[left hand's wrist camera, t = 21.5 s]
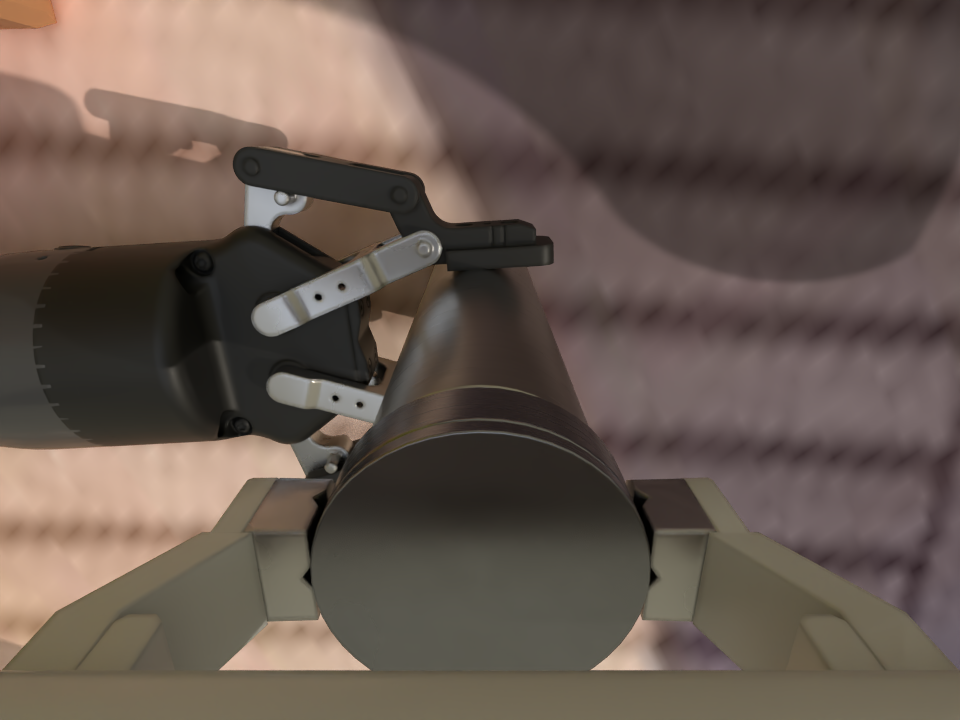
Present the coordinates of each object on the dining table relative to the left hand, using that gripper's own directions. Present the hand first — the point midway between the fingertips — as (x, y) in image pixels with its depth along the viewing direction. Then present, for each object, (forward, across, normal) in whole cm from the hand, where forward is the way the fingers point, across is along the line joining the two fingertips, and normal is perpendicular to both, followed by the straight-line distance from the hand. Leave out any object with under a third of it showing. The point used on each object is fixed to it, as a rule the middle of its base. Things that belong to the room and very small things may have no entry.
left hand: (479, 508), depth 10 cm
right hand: (+11, -3, 0) cm, 11 cm away
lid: (-2, 0, 0) cm, 2 cm away
